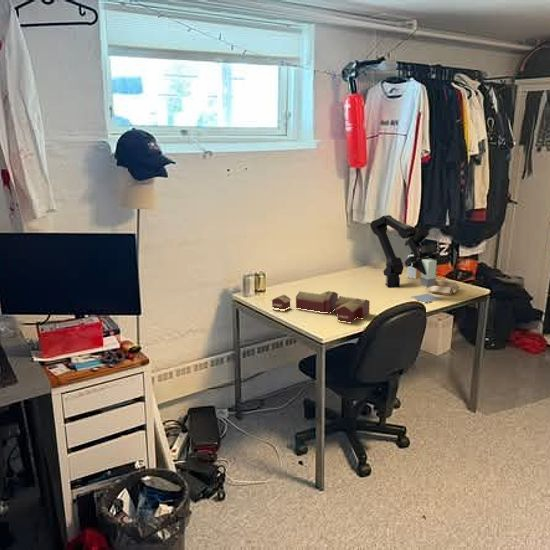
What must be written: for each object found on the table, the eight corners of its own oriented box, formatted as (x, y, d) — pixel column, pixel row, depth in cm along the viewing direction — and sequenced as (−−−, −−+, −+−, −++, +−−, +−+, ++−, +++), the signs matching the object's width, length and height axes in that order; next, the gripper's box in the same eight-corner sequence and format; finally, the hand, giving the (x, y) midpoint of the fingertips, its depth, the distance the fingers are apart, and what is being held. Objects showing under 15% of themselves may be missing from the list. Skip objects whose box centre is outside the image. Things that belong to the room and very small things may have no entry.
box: (420, 284, 271) (421, 259, 267) (428, 283, 273) (429, 258, 269) (427, 287, 266) (428, 261, 263) (434, 285, 268) (436, 260, 265)
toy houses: (371, 313, 254) (371, 292, 251) (354, 326, 237) (354, 304, 234) (288, 300, 277) (287, 281, 274) (267, 312, 260) (266, 291, 257)
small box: (416, 279, 307) (416, 256, 304) (406, 277, 312) (407, 255, 308) (423, 276, 313) (424, 254, 309) (414, 274, 317) (414, 252, 314)
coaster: (410, 297, 274) (410, 296, 274) (427, 294, 278) (427, 293, 278) (425, 303, 264) (425, 302, 264) (442, 300, 268) (442, 299, 268)
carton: (424, 294, 279) (424, 285, 278) (432, 286, 291) (432, 278, 290) (453, 297, 272) (453, 289, 271) (460, 290, 284) (460, 281, 283)
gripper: (409, 240, 263) (423, 267, 256) (438, 236, 271) (453, 262, 264) (398, 253, 272) (412, 279, 265) (427, 249, 280) (441, 274, 273)
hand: (430, 273), depth 267 cm, fingers closed on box, 5 cm apart
